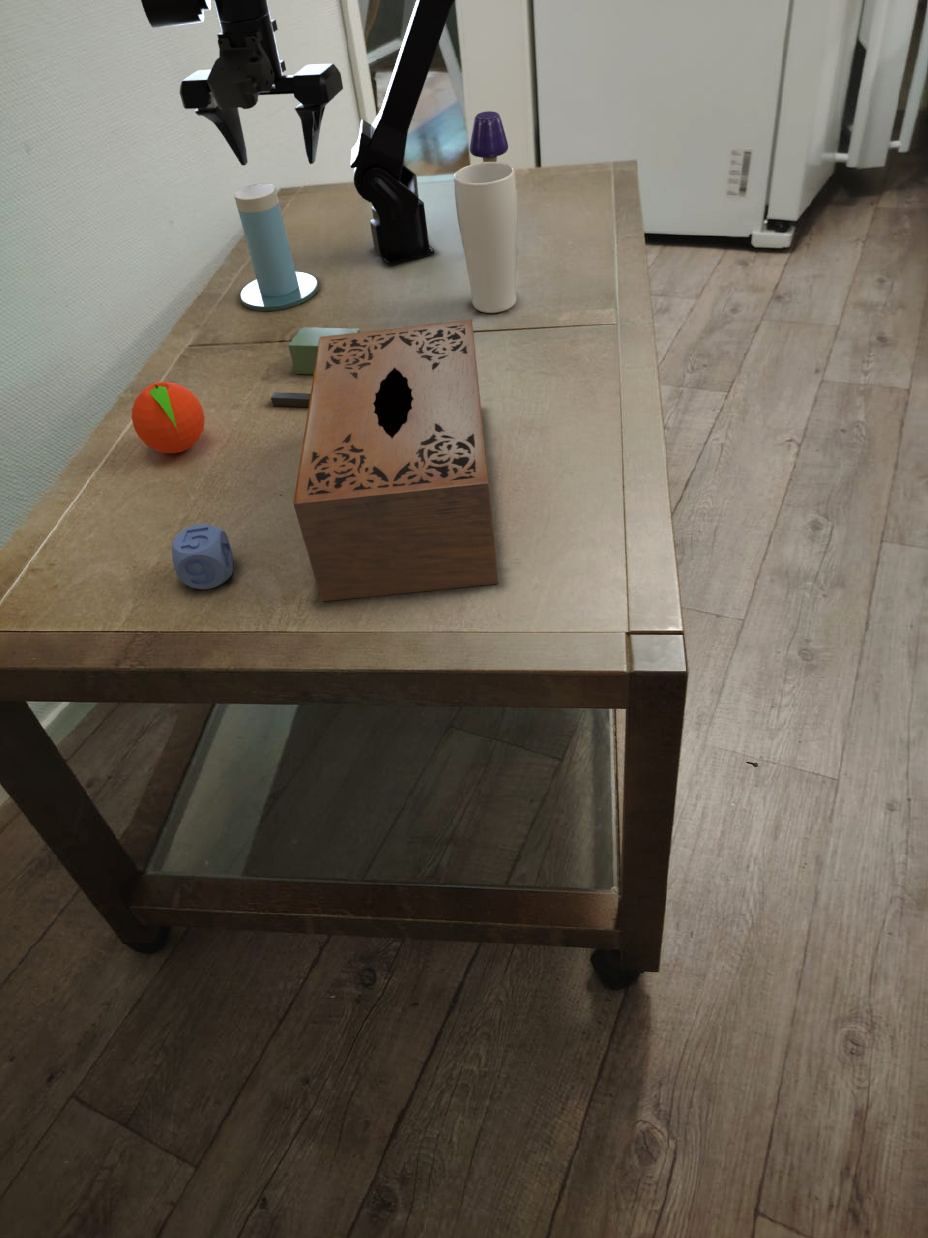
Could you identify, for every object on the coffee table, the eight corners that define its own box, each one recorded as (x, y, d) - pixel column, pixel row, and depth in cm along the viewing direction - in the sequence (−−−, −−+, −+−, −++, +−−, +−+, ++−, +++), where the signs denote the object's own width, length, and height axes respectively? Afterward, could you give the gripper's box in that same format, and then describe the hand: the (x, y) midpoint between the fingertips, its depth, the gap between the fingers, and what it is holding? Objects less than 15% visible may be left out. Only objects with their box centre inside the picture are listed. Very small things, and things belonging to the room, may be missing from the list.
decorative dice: (234, 555, 78) (221, 519, 75) (231, 586, 75) (217, 550, 72) (189, 562, 78) (174, 527, 75) (184, 593, 75) (169, 557, 72)
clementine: (225, 455, 89) (203, 393, 84) (158, 480, 88) (132, 418, 83) (202, 420, 95) (180, 359, 90) (138, 443, 93) (112, 382, 88)
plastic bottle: (274, 214, 117) (229, 169, 105) (310, 214, 116) (268, 168, 104) (266, 305, 117) (220, 271, 106) (301, 306, 116) (259, 271, 104)
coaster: (306, 269, 120) (305, 264, 119) (327, 297, 113) (326, 292, 112) (234, 288, 118) (232, 283, 117) (250, 318, 111) (249, 313, 110)
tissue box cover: (498, 583, 72) (488, 483, 65) (322, 601, 73) (293, 504, 66) (481, 412, 90) (472, 319, 83) (340, 427, 91) (319, 336, 84)
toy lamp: (519, 248, 117) (512, 108, 106) (506, 263, 115) (496, 121, 103) (486, 245, 119) (475, 107, 107) (472, 260, 116) (459, 119, 105)
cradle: (308, 355, 103) (301, 326, 100) (365, 357, 101) (359, 328, 98) (272, 405, 95) (264, 376, 93) (333, 408, 94) (326, 379, 91)
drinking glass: (458, 315, 106) (443, 182, 95) (478, 289, 110) (466, 160, 100) (511, 320, 104) (502, 185, 93) (530, 293, 108) (524, 161, 97)
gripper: (136, 39, 97) (182, 189, 108) (294, 30, 93) (325, 186, 104) (182, 14, 105) (221, 156, 116) (330, 4, 100) (356, 153, 111)
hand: (278, 163), depth 111 cm, fingers open, 9 cm apart
